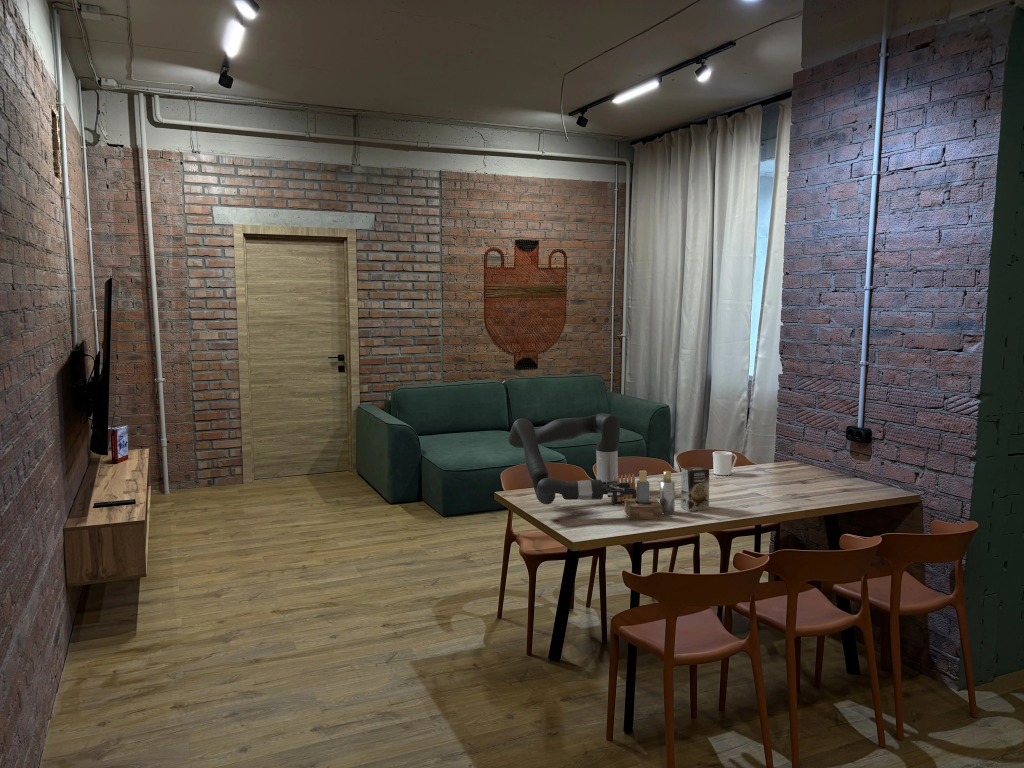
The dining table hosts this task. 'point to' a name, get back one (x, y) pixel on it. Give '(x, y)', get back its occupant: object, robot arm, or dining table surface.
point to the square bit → (642, 488)
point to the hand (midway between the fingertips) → (631, 488)
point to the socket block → (643, 509)
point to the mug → (723, 463)
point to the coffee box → (695, 488)
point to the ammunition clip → (632, 485)
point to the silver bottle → (667, 493)
